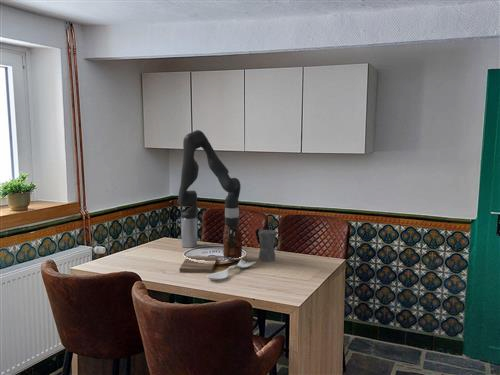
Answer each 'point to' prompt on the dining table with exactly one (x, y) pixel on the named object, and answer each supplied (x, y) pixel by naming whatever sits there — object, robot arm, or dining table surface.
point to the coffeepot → (266, 244)
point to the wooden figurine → (237, 248)
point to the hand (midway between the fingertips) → (232, 246)
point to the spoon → (225, 273)
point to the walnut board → (198, 264)
